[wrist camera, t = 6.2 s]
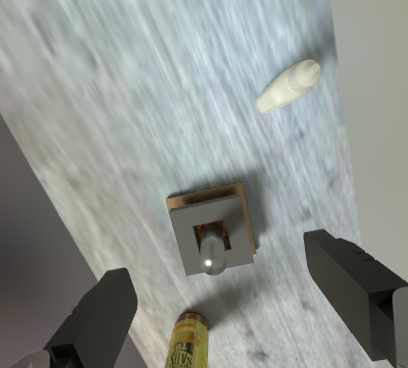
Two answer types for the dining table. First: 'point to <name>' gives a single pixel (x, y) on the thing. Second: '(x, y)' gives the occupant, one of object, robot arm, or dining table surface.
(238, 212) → the collar
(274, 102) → the eye dropper bottle
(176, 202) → the bronze plate with post
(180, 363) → the sauce bottle
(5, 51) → the dining table surface
